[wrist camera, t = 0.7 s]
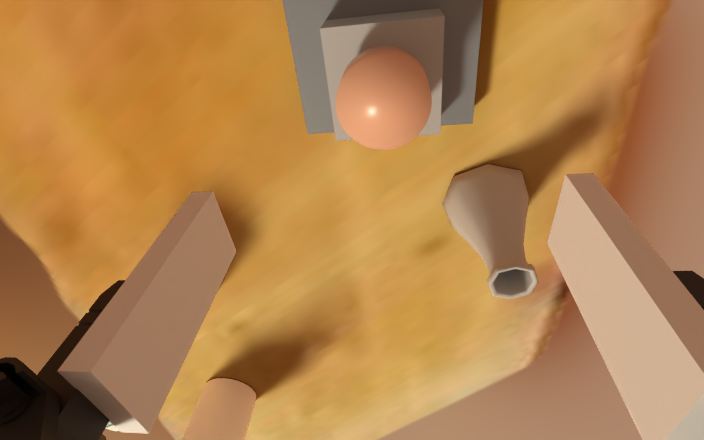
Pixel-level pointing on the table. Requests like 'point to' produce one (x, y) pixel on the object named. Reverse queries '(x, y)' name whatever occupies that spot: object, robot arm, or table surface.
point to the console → (385, 30)
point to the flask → (494, 224)
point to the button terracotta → (383, 98)
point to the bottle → (222, 411)
